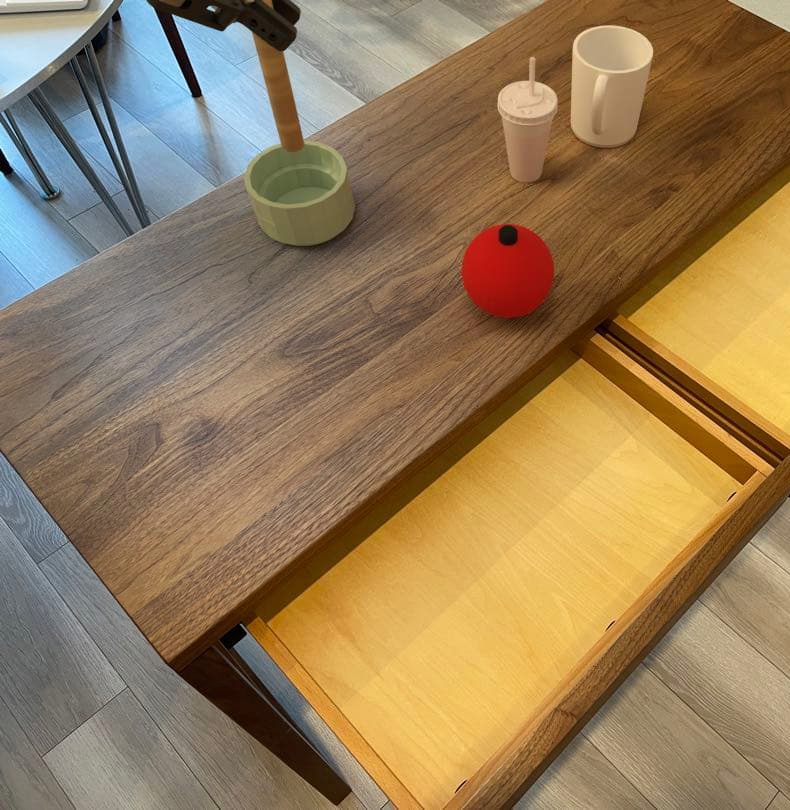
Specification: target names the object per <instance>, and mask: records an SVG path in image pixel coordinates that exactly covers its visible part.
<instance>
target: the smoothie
mask: <svg viewBox="0 0 790 810" xmlns="http://www.w3.org/2000/svg"><path fill="white" fill-rule="evenodd" d="M528 73H529V75H528V76H529V77H528V80H519V81H515V82H511V83H509V84H507V85H506V86H505V87H503V88H502V89H501V90H500V92H499V93H498V95H497V107H496V108H497V111H498V112H499V114H500V116H501V121H502V127H503V128H502V129H503V134H504V141H505V147H506V155H507V162H508V167H509V174H510V176H511V177H512V178H513V179H514V180H515V181H517V182H520V183H533V182H535V181H537V180H539V179H540V178H541V176H542V174H543V169H544V164H545V160H546V154H547V149H548V144H549V138H550V136H551V135H550V134H551V129H552V125H553V119H554V117H555V116H556V114H557V113H558V109H559V108H558V107H559V106H558V102H559V101H558V96H557V93H556V92H555V90H554V89H552V88H551V87H550V86H548V85H546V84H545V83H542V82H538V81H536V80H535V79H536V58H535V57H534V56H531V57H530V58H529V71H528Z"/></svg>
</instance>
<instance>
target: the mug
mask: <svg viewBox="0 0 790 810" xmlns="http://www.w3.org/2000/svg"><path fill="white" fill-rule="evenodd" d="M652 45H653V44H652V43H651V42H650V41H649V39H648V38H647V37H646V36H645V35H643V34H641V33H640V32H639V31H636V30H634V29H632V28H628V27H624V26H621V25H613V24H610V25H599V26H598V25H597V26H593V27H590V28H588V29H585V30H583V31H582V32H581V33H579V34H578V35H577V36H576V38H575V39H574V40H573V44H572V52H571V53H572V54H571V95H570V96H571V97H570V128H571V132H572V133H573V134H574V136H575V137H576V138H577V139H578V140H579V141H581V142H582V143H584V144H586V145H589V146H591V147H595V148H598V149H599V148H601V149H613V148H618V147H622V146H624V145H626V144H627V143H629V142H630V141H631V140H632V139H633V138H634V136H635V135H636V133H637V128H638V124H639V120H640V116H641V112H642V107H643V102H644V97H645V92H646V89H647V84H648V79H649V75H650V71H651V66H652V62H653V58H654V48H653V46H652Z"/></svg>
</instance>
